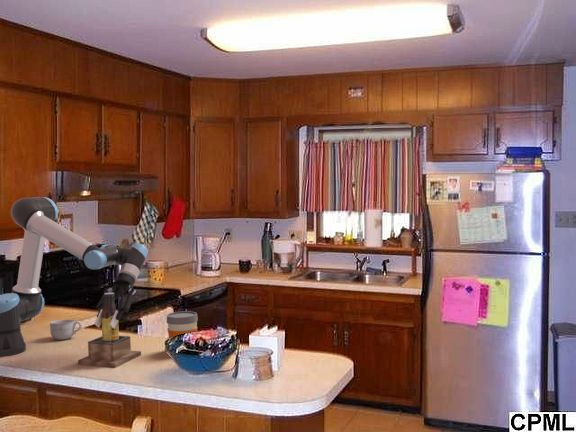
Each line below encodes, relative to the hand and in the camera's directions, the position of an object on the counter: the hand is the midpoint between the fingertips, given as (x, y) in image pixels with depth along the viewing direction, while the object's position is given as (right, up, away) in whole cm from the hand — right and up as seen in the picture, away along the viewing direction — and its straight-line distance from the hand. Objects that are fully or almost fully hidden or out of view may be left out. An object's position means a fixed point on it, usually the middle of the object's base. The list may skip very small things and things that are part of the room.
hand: (104, 325), depth 238 cm
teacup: (-29, -13, +40) cm, 51 cm away
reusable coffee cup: (+28, -13, +14) cm, 34 cm away
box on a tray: (+1, -14, +4) cm, 15 cm away
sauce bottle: (+1, -8, +4) cm, 9 cm away
